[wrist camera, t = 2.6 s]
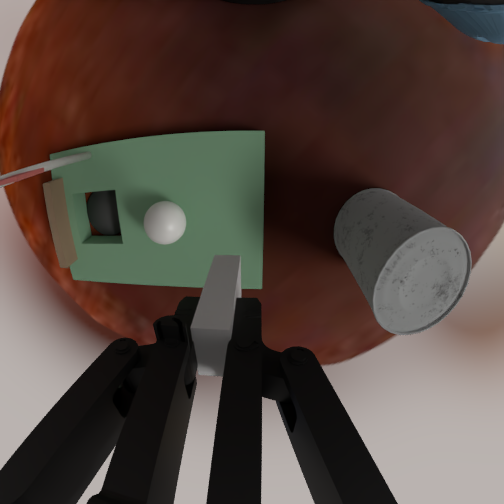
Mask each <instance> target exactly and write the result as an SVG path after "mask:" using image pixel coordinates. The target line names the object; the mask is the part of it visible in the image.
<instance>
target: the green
mask: <svg viewBox="0 0 504 504" xmlns="http://www.w3.org/2000/svg"><path fill="white" fill-rule="evenodd" d="M264 157H265V131H213V132H194V133H180V134H168V135H158V136H149V137H141V138H133V139H126V140H119V141H113V142H107V143H101V144H96V145H90V146H85V147H80V148H76V149H71V150H67V151H62V152H58V153H54V154H50V161H47V162H43V163H40V164H36V165H33V166H30V167H26V168H23V169H20V170H17V171H14V172H11V173H8V174H5V175H2V176H0V188H1V187H3V186H6V185H8V184H11V183H14V182H17V181H20V180H22V179H25V178H28V177H31V176H34V175H37V174H40V173H43V172H45V171H48V170H51V173H52V181H49V182H46V183H44V184H43V189H44V195H45V202H46V207H47V213H48V218H49V223H50V228H51V232H52V237H53V241H54V245H55V249H56V253H57V257H58V260H59V264H60V268H68V267H69V266H70V269H71V273H72V276H73V280H85V281H97V282H111V283H125V284H141V285H159V286H180V287H204V285H205V282H206V279H207V276H208V273H209V270H210V267H211V264H212V261H213V258H214V255H241V289H262V267H263V221H264ZM86 192H93V193H92V195H91V196H90V198H89V200H88V204H87V206H86V199H85V193H86ZM161 201H170V202H173V203H175V204H177V205H178V206H179V207H180V208H181V209H182V210H183V212H184V214H185V217H186V228H185V231H184V233H183V235H182V236H181V237H180V238H179V239H178V240H177V241H176V242H174V243H171V244H166V245H163V244H158V243H156V242H154V241H152V240H151V239H150V238H149V237H148V236H147V234H146V232H145V229H144V217H145V214H146V212H147V211H148V209H149V208H150V207H151V206H152V205H154V204H155V203H157V202H161ZM89 220H90V222H91V224H92V226H93V227H94V228H95V229H96V230H97V231H98V232H100V233H102V234H104V235H115V234H118V233H119V232H121V234H122V236H92V235H91V229H90V224H89Z"/></svg>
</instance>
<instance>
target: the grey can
mask: <svg viewBox="0 0 504 504" xmlns="http://www.w3.org/2000/svg"><path fill="white" fill-rule="evenodd" d="M334 240H335V245H336V247H337V249H338V251H339V253H340V255H341V256H342V257H343V259H344V260H345V262H346V264H347V265H348V267H349V269H350V271H351V272H352V274H353V276H354V278H355V279H356V281H357V283H358V285H359V286H360V288H361V290H362V292H363V294H364V295H365V297H366V299H367V301H368V303H369V305H370V306H371V308H372V311H373V313H374V316H375V318H376V320H377V322H378V323H379V324H380V325H381V326H382V328H384V329H386V330H387V331H389V332H390V333H394V334H398V335H411V334H416V333H420V332H422V331H425V330H427V329H429V328H431V327H433V326H434V325H436V324H437V323H439V322H440V321H441V320H443V319H444V318H445V317H446V316H447V315H448V314H449V313H450V312H451V311H452V310H453V309H454V307H455V306H456V305H457V304H458V302H459V300H460V299H461V297H462V296H463V294H464V292H465V289H466V287H467V285H468V281H469V278H470V274H471V264H472V262H471V253H470V250H469V247H468V244H467V242H466V241H465V239H464V238H463V237H462V235H461V234H459V233H458V232H456V231H455V230H453V229H452V228H448V227H447V226H445V225H444V224H442V223H441V222H439V221H438V220H436V219H434V218H433V217H431V216H430V215H428V214H426V213H425V212H423V211H421V210H420V209H418V208H416V207H415V206H413V205H411V204H410V203H408V202H406V201H405V200H403V199H401V198H399V197H398V196H397V195H396V194H394V193H392V192H390V191H388V190H385V189H381V188H371V189H367V190H363V191H361V192H359V193H357V194H355V195H354V196H352V197H351V198H350V199H349V200H348V201H347V202H346V203H345V204H344V206H343V207H342V208H341V210H340V212H339V214H338V216H337V218H336V222H335V226H334Z"/></svg>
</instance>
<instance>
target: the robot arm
mask: <svg viewBox="0 0 504 504" xmlns="http://www.w3.org/2000/svg"><path fill="white" fill-rule="evenodd" d="M223 1H228V2H233V3H241V4H268V3H275V2H281V1H285V0H223ZM419 1H421V2H422V3H424V4H425V5H428V6H431V7H432V8H433V9H434V10H436V11H437V12H438V13H439V14H441V15H442V16H443V17H444V18H445V19H446V20H448V21H449V22H450V23H451V24H452V25H453V26H454V27H456V28H457V29H458V30H459V31H461V32H462V33H464V34H466V35H468V36H469V37H472V38H474V39H477V40H481V41H484V42H492V43H496V44H504V0H419ZM153 327H154V330H155V334H156V338H157V341H156V343H154V344H150V345H143V346H138V344H137V343H136V341H135V340H133V339H131V338H120V339H117V340H115V341H114V342H112V343H111V344H110V345H109V346H108V347H107V348H106V349H105V350H104V351H103V352H102V353H101V355H100V356H99V357H98V358H97V359H96V360H95V361H94V362H93V363H92V364H91V365H90V366H89V367H88V369H87V370H86V371H85V372H84V373H83V374H82V375H81V376H80V377H79V378H78V379H77V381H76V382H75V383H74V384H73V385H72V386H71V387H70V388H69V389H68V391H67V392H66V393H65V394H64V395H63V396H62V397H61V398H60V400H59V401H58V402H57V403H56V404H55V405H54V406H53V407H52V409H51V410H50V411H49V412H48V413H47V414H46V416H45V417H44V418H43V419H42V420H41V422H40V423H39V424H38V425H37V426H36V427H35V429H34V430H33V431H32V432H31V433H30V435H29V436H28V437H27V438H26V439H25V440H24V442H23V443H22V444H21V445H20V447H19V448H18V449H17V450H16V451H15V453H14V454H13V455H12V456H11V458H10V459H9V460H8V461H7V463H6V464H5V465H4V467H3V468H2V469H1V470H0V504H76V503H77V502H78V500H79V499H80V497H81V496H82V494H83V493H84V491H85V490H86V488H87V487H88V485H89V484H90V483H91V481H92V480H93V478H94V477H95V475H96V473H97V472H98V471H99V469H100V468H101V466H102V465H103V463H104V462H105V460H106V459H107V457H108V456H109V454H110V453H111V451H112V450H113V449H114V447H115V446H116V447H115V450H114V453H113V456H112V459H111V462H110V465H109V468H108V471H107V474H106V477H105V481H104V484H103V487H102V490H101V491H100V492H99V494H96V495H94V496H92V497H91V498H90V499H89V500H88V502H87V504H174V498H175V492H176V486H177V480H178V475H179V470H180V465H181V459H182V454H183V449H184V444H185V438H186V434H187V428H188V423H189V419H190V414H191V408H192V404H193V399H194V395H195V390H196V385H197V382H196V371H197V369H198V374H199V375H209V376H223V380H222V387H221V394H220V402H219V409H218V417H217V424H216V432H215V439H214V447H213V455H212V463H211V471H210V479H209V486H208V495H207V504H261V465H262V463H261V462H262V460H261V459H262V397H264V398H268V399H272V400H276V403H277V406H278V409H279V412H280V414H281V417H282V420H283V422H284V425H285V428H286V431H287V433H288V436H289V439H290V441H291V444H292V446H293V449H294V452H295V454H296V457H297V460H298V462H299V465H300V467H301V470H302V473H303V475H304V478H305V480H306V483H307V485H308V488H309V490H310V493H311V495H312V498H313V500H314V503H315V504H398V503H397V502H396V500H395V498H394V496H393V494H392V493H391V491H390V489H389V487H388V485H387V484H386V482H385V480H384V478H383V476H382V475H381V473H380V471H379V469H378V467H377V466H376V464H375V462H374V460H373V459H372V457H371V455H370V453H369V451H368V449H367V448H366V446H365V444H364V442H363V440H362V439H361V437H360V435H359V433H358V431H357V430H356V428H355V426H354V424H353V423H352V421H351V419H350V417H349V415H348V413H347V412H346V410H345V408H344V406H343V405H342V403H341V401H340V399H339V398H338V396H337V394H336V392H335V390H334V389H333V387H332V385H331V383H330V382H329V380H328V378H327V376H326V374H325V373H324V371H323V369H322V367H321V365H320V364H319V362H318V360H317V358H316V357H315V355H314V354H313V353H312V351H310V350H309V349H307V348H304V347H299V346H298V347H290V348H287V349H286V350H284V351H283V352H277V351H274V350H271V349H269V348H268V347H266V346H265V345H264V343H263V342H262V336H261V303H260V302H259V300H258V299H257V298H241V255H214V258H213V261H212V264H211V267H210V270H209V273H208V276H207V279H206V282H205V285H204V288H203V291H202V294H201V297H185V298H184V299H183V300H181V301H180V302H179V305H178V307H177V310H176V312H175V315H172V316H164V317H161V318H159V319H158V320H156V321H155V322H154V324H153Z"/></svg>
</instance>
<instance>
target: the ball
mask: <svg viewBox="0 0 504 504" xmlns="http://www.w3.org/2000/svg"><path fill="white" fill-rule="evenodd" d="M185 228H186V217H185V214H184V212H183V210H182V209H181V208H180V207H179V206H178V205H177V204H175V203H173V202H170V201H161V202H157V203H155V204H154V205H152V206H151V207H150V208H149V209H148V211H147V212H146V214H145V217H144V229H145V232H146V234H147V236H148V237H149V238H150V239H151V240H152V241H154V242H156V243H158V244H163V245H166V244H171V243H174V242H176V241H177V240H178V239H179V238H180V237H181V236H182V235H183V233H184V231H185Z"/></svg>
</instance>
